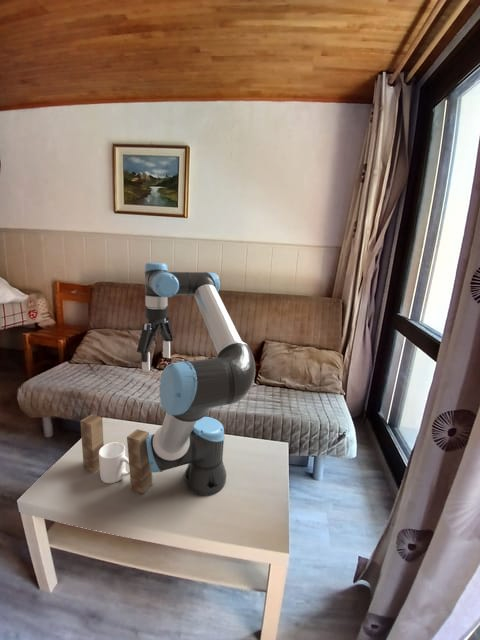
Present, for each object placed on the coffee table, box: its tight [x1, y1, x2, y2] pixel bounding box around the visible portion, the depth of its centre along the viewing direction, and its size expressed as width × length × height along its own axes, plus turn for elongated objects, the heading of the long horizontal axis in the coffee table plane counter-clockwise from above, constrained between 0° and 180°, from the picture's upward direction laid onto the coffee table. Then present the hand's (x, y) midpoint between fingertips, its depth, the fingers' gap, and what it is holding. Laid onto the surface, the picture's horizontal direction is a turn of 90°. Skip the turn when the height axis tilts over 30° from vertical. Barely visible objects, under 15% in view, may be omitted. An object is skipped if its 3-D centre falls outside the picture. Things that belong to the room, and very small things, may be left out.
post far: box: [79, 413, 105, 474], centre depth 112 cm, size 5×5×20 cm
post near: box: [126, 428, 153, 494], centre depth 105 cm, size 5×5×20 cm
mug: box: [99, 441, 130, 484], centre depth 109 cm, size 9×12×11 cm
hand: (156, 363), depth 113 cm, fingers open, 13 cm apart
